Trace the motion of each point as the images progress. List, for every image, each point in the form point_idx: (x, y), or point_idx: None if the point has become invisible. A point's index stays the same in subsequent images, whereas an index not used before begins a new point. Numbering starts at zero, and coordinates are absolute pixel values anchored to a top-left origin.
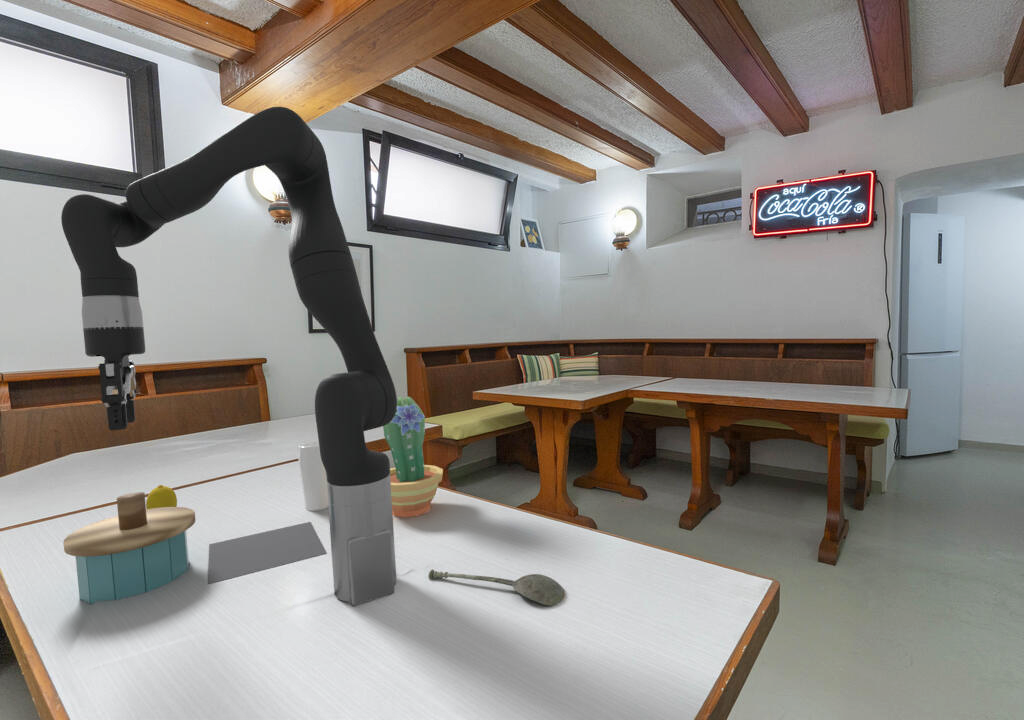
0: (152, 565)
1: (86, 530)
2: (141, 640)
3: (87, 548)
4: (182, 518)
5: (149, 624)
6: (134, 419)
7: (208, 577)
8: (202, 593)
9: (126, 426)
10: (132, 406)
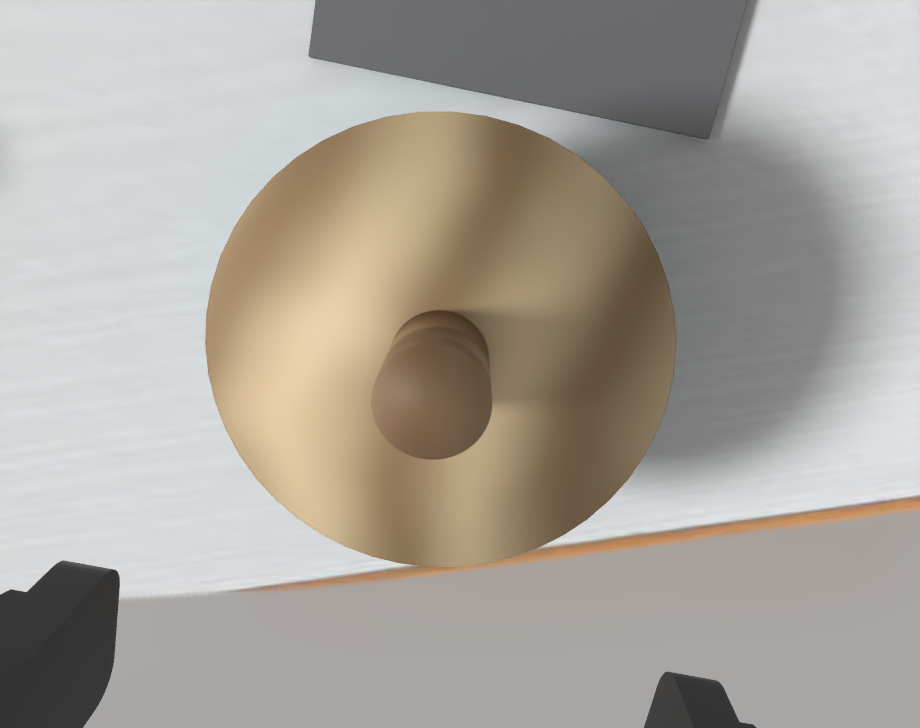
0: None
1: (349, 503)
2: (885, 338)
3: (601, 506)
4: (515, 177)
5: (810, 313)
6: (107, 576)
7: (656, 125)
8: (737, 161)
9: (722, 687)
10: (6, 702)
